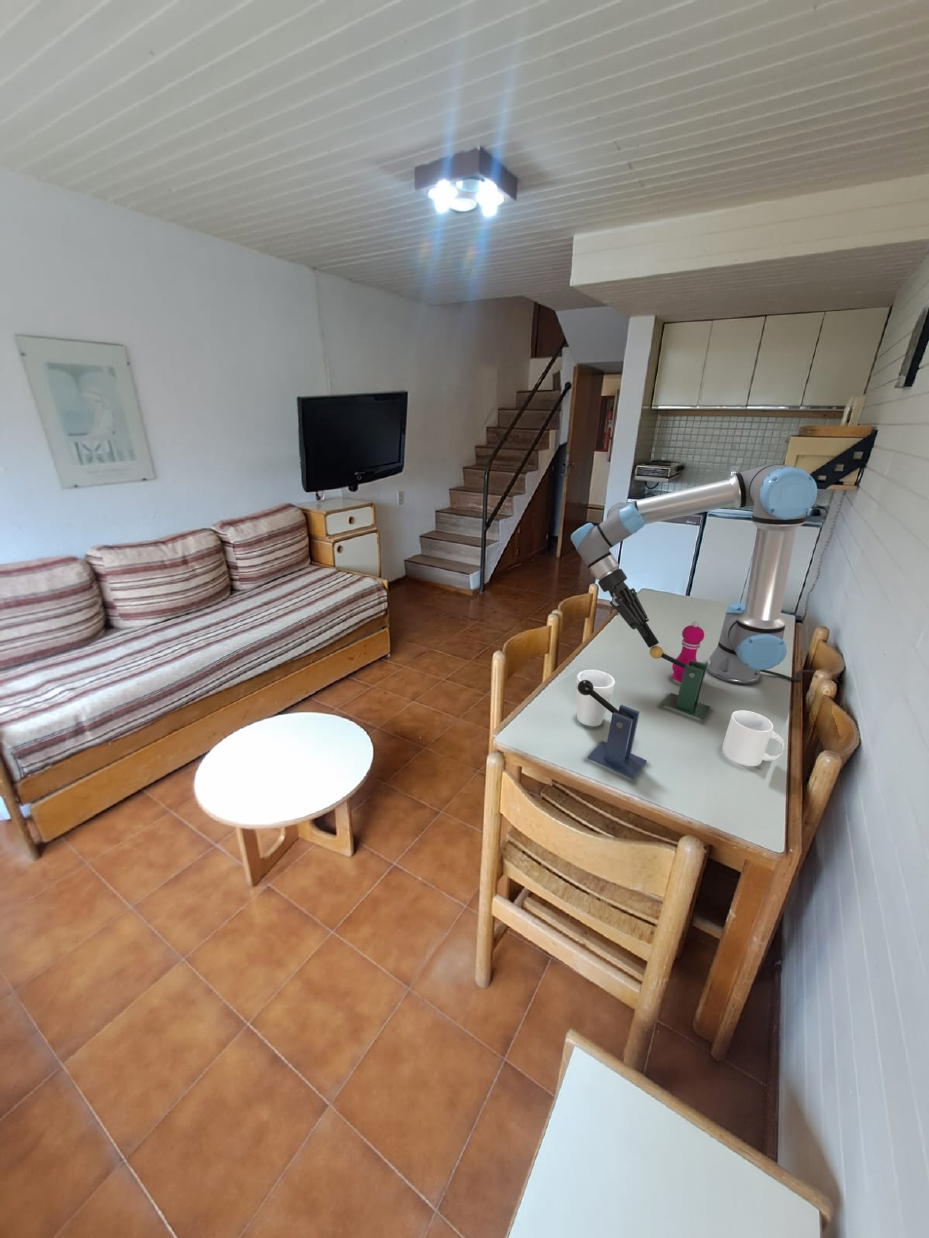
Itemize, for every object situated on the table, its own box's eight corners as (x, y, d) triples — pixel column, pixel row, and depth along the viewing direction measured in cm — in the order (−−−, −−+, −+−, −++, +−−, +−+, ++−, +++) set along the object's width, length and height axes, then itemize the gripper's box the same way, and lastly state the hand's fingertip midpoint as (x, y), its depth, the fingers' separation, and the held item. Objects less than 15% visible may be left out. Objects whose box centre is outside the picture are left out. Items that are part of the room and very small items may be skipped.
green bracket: (660, 707, 137) (670, 663, 132) (670, 696, 143) (680, 653, 138) (702, 722, 131) (714, 677, 126) (710, 710, 137) (722, 666, 131)
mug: (777, 780, 111) (791, 741, 107) (719, 761, 116) (730, 723, 112) (776, 758, 118) (790, 721, 114) (721, 742, 123) (732, 706, 119)
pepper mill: (690, 676, 155) (704, 617, 147) (698, 688, 148) (713, 627, 140) (666, 674, 155) (679, 616, 147) (673, 686, 148) (687, 625, 141)
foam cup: (579, 733, 125) (586, 689, 120) (565, 713, 133) (571, 671, 128) (614, 730, 127) (622, 686, 122) (597, 710, 135) (604, 668, 130)
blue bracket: (587, 760, 115) (595, 710, 110) (601, 744, 121) (610, 696, 116) (632, 782, 109) (643, 730, 103) (645, 764, 115) (656, 714, 109)
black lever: (572, 690, 115) (579, 680, 113) (579, 684, 117) (586, 674, 115) (622, 732, 109) (631, 722, 107) (628, 725, 112) (637, 715, 110)
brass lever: (645, 656, 138) (650, 646, 137) (650, 652, 141) (654, 641, 139) (695, 681, 131) (700, 670, 130) (699, 676, 134) (704, 665, 132)
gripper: (607, 575, 147) (650, 643, 145) (588, 585, 138) (634, 658, 135) (628, 563, 142) (673, 632, 140) (609, 572, 133) (657, 647, 130)
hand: (654, 645), depth 138 cm, fingers closed
